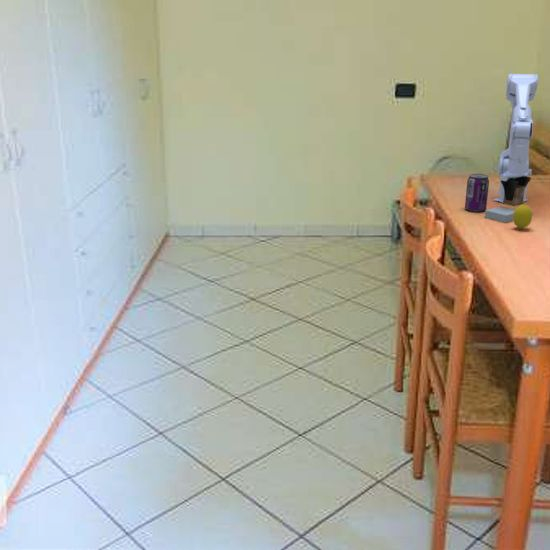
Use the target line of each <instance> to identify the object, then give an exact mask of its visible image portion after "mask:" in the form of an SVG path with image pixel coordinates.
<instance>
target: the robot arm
mask: <svg viewBox="0 0 550 550" xmlns="http://www.w3.org/2000/svg"><path fill="white" fill-rule="evenodd" d="M538 84H539V75H538V74H537V73H534V74H531V73H530V74H529V73H527V74H526V73H509V74H508V75H507V80H506V86H505V87H506V88H505V89H506V92H505V98H506V100H507V101H509V102H510V103H511V109H512V110H511V116H510V117H511V118H510V119H511V120H510V128H509V141H508V148H507V149H505V150H502V152H501V153H500V154H499V160H498V167H497V174H498V175H499V176H500V185H499V186H500V187H499V193H498V197H496V198H494V199H493V201H495V202H498V201H499V202H500V203H503V200H504V192H505V199H506V200H509V201H512V199H513V196H514V191H515V188H516V186H517V185H520V186H525V190H524V198H523V203H524V202H527V201H528V199H527V198H526V197H527V191H528V190H527V188H528V184H529V182H530V181H531V177H530V176H531V175H532V172H533V169H532V168H529V165H530V159H529V158H530V156H529V149H530V142H531V140H532V137H533V132H534V122H533V119H532V107H531V106H530V105H529V102H532V101H533V100H534V98H535V96H536V93H537V90H538ZM499 202H498V203H499Z"/></svg>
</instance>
